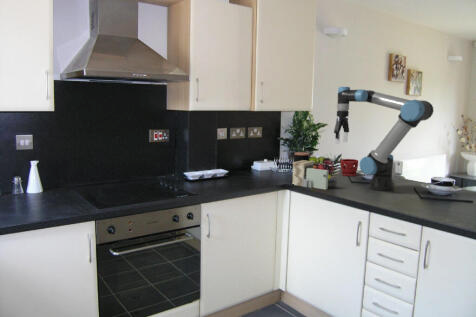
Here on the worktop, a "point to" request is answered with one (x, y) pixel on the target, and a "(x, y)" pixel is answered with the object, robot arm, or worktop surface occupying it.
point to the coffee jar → (301, 156)
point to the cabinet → (300, 171)
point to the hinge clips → (306, 182)
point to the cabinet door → (317, 178)
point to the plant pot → (349, 167)
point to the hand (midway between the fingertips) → (341, 142)
